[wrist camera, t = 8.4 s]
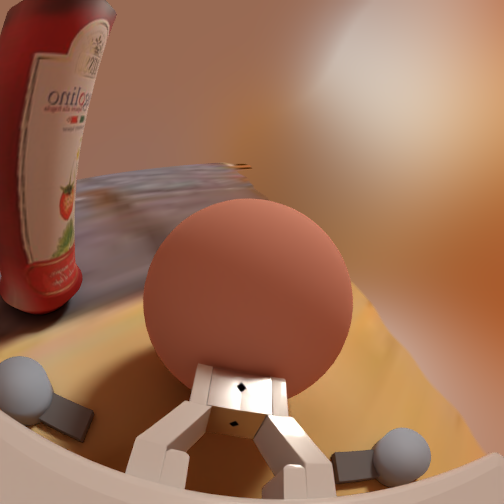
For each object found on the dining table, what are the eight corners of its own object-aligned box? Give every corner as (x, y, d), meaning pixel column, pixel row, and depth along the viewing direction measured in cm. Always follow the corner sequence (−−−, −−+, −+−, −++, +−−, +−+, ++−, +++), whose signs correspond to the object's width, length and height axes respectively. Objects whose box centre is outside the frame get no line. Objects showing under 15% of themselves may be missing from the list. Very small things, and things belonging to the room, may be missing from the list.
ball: (169, 136, 11) (187, 242, 20) (75, 367, 7) (148, 378, 16) (386, 185, 12) (321, 271, 20) (385, 427, 7) (302, 410, 16)
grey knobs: (-12, 404, 7) (-21, 391, 7) (17, 361, 11) (11, 347, 10) (423, 480, 9) (437, 471, 9) (409, 435, 12) (420, 425, 12)
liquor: (32, 261, 19) (89, -56, 7) (100, 279, 20) (174, -68, 8) (-16, 309, 12) (49, -92, 1) (60, 341, 13) (154, -122, 2)
